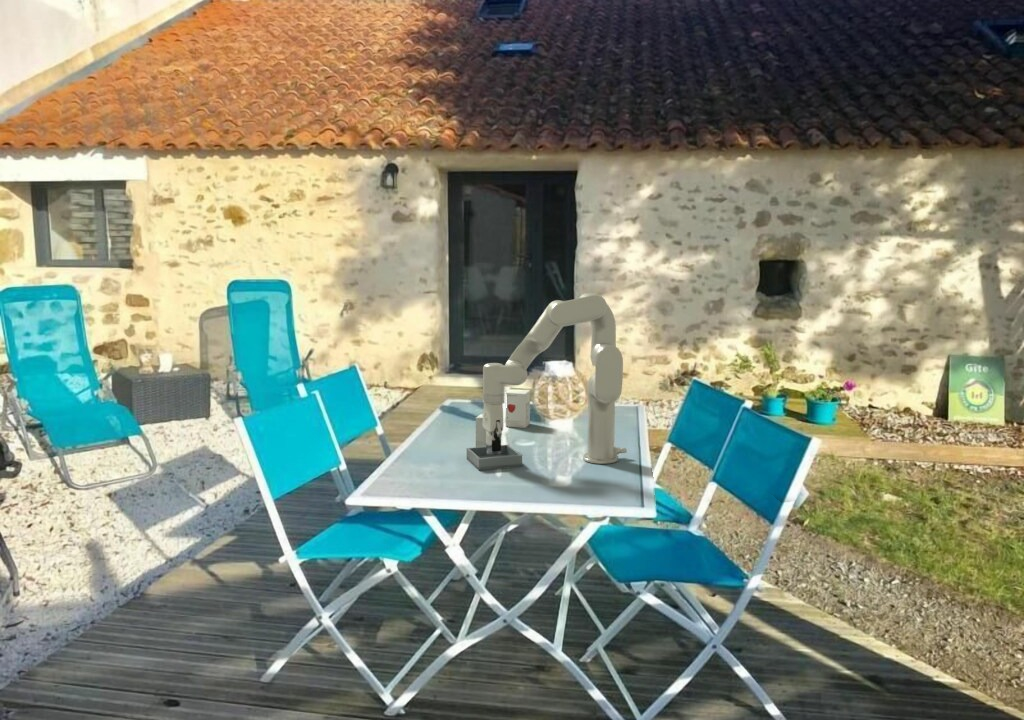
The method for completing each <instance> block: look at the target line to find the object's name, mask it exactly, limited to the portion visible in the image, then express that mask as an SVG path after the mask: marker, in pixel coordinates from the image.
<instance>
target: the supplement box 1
mask: <svg viewBox="0 0 1024 720" xmlns="http://www.w3.org/2000/svg"><path fill="white" fill-rule="evenodd" d="M475 447H486V429H485V428H484V427H483V413H480V414H479V415H478V416H476V417H475Z"/></svg>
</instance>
